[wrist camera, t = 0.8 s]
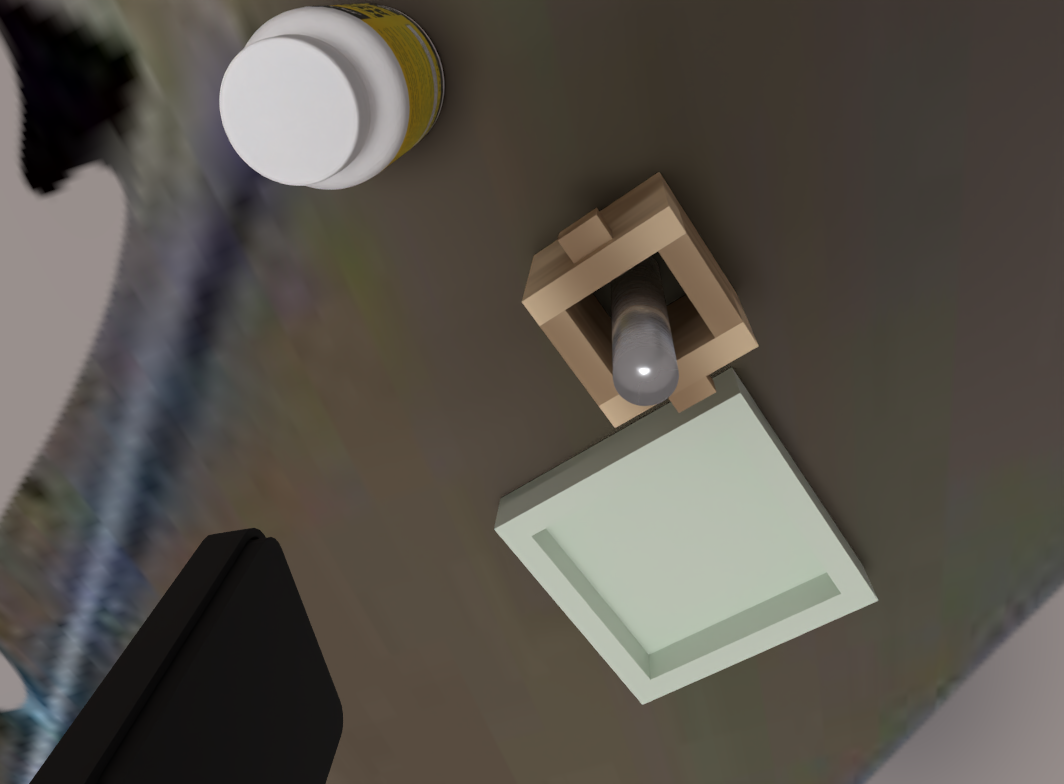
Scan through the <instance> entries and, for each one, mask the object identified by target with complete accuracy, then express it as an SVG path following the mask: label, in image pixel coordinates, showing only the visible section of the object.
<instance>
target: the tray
mask: <svg viewBox="0 0 1064 784" xmlns="http://www.w3.org/2000/svg"><path fill="white" fill-rule="evenodd" d="M712 379H713V381H714V385H715V389H716V393H714V394H712V395H711V396H709V397H707V398H705V399H703V400H702V401H700V402H698V403H696V404H694V405H693V406H691V407H689V408H687V409H686V410H684V411H682V412H680V413H678V411H677V410H676V408H675V407H674V406H673V404H672V403H671V402H670V403H668V404H666V405H664V406H663V407H661V408H659V409H657V410H656V411H654V412H652V413H650V414H649V415H647V416H645V417H643V418H641V419H640V420H638V421H636V422H634V423H633V424H631V425H629V426H627V427H626V428H624V429H622V430H620V431H619V432H617V433H615V434H613V435H612V436H610V437H608V438H606V439H604V440H603V441H601V442H599V443H597V444H596V445H594V446H592V447H590V448H589V449H587V450H585V451H583V452H582V453H580V454H578V455H576V456H574V457H573V458H571V459H569V460H567V461H566V462H564V463H562V464H560V465H559V466H557V467H555V468H553V469H552V470H550V471H548V472H546V473H544V474H543V475H541V476H539V477H537V478H536V479H534V480H532V481H530V482H529V483H527V484H525V485H523V486H522V487H520V488H518V489H516V490H514V491H513V492H511V493H509V494H507V495H506V496H504V497H502V498H500V503H499V508H498V513H497V518H496V523H495V527H494V530H495V531H496V532H497V533H498V534H499V536H500V537H501V538H502V539H503V540H504V541H505V543H506V544H507V545H508V546H509V547H510V549H511V550H512V551H513V552H514V553H515V554H516V556H517V557H518V558H519V559H520V560H521V562H522V563H523V564H524V565H525V566H526V567H527V569H528V570H529V571H530V572H531V573H532V575H533V576H534V577H535V578H536V579H537V580H538V582H539V583H540V584H541V585H542V586H543V588H544V589H545V590H546V591H547V592H548V593H549V595H550V596H551V597H552V598H553V599H554V601H555V602H556V603H557V604H558V605H559V607H560V608H561V609H562V610H563V611H564V612H565V614H566V615H567V616H568V617H569V618H570V620H571V621H572V622H573V623H574V624H575V625H576V627H577V628H578V629H579V630H580V631H581V633H582V634H583V635H584V636H585V637H586V638H587V640H588V641H589V642H590V643H591V644H592V646H593V647H594V648H595V649H596V650H597V651H598V653H599V654H600V655H601V656H602V657H603V659H604V660H605V661H606V662H607V663H608V664H609V666H610V667H611V668H612V669H613V670H614V672H615V673H616V674H617V675H618V676H619V677H620V679H621V680H622V681H623V682H624V683H625V685H626V686H627V687H628V688H629V689H630V690H631V692H632V693H633V694H634V695H635V696H636V698H637V699H638V700H639V701H640V702H641V703H642V705H643V704H646V703H648V702H650V701H652V700H655V699H657V698H659V697H661V696H664V695H666V694H668V693H670V692H673V691H675V690H677V689H679V688H682V687H684V686H686V685H689V684H691V683H693V682H695V681H698V680H700V679H702V678H704V677H707V676H709V675H711V674H713V673H716V672H718V671H720V670H722V669H725V668H727V667H729V666H731V665H734V664H736V663H738V662H741V661H743V660H745V659H747V658H750V657H752V656H754V655H756V654H759V653H761V652H763V651H765V650H768V649H770V648H772V647H774V646H777V645H779V644H781V643H783V642H786V641H788V640H790V639H793V638H795V637H797V636H799V635H802V634H804V633H806V632H808V631H811V630H813V629H815V628H817V627H820V626H822V625H824V624H826V623H829V622H831V621H833V620H835V619H838V618H840V617H842V616H845V615H847V614H849V613H851V612H854V611H856V610H858V609H860V608H863V607H865V606H867V605H869V604H872V603H874V602H876V601H878V599H877V596H876V594H875V592H874V589H873V587H872V585H871V583H870V580H869V578H868V576H867V574H866V571H865V569H864V567H863V565H862V563H861V562H860V560H859V559H858V557H857V556H856V554H855V553H854V551H853V550H852V548H851V547H850V545H849V544H848V542H847V541H846V539H845V538H844V536H843V535H842V533H841V532H840V530H839V529H838V527H837V526H836V524H835V523H834V521H833V520H832V518H831V517H830V515H829V513H828V512H827V510H826V509H825V507H824V506H823V504H822V503H821V501H820V500H819V498H818V497H817V495H816V494H815V492H814V491H813V489H812V488H811V486H810V485H809V483H808V482H807V480H806V479H805V477H804V476H803V474H802V473H801V471H800V470H799V468H798V467H797V465H796V464H795V462H794V460H793V459H792V457H791V456H790V454H789V453H788V451H787V450H786V448H785V447H784V445H783V444H782V442H781V441H780V439H779V438H778V436H777V435H776V433H775V432H774V430H773V429H772V427H771V426H770V424H769V423H768V421H767V420H766V418H765V417H764V415H763V414H762V412H761V410H760V409H759V407H758V406H757V404H756V403H755V401H754V400H753V398H752V397H751V395H750V394H749V392H748V391H747V389H746V388H745V386H744V385H743V383H742V382H741V380H740V379H739V377H738V376H737V374H736V373H735V371H734V370H733V368H732V367H731V368H730V369H728V370H726V371H724V372H723V373H721V374H719V375H717V376H716V377H714V378H712Z"/></svg>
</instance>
